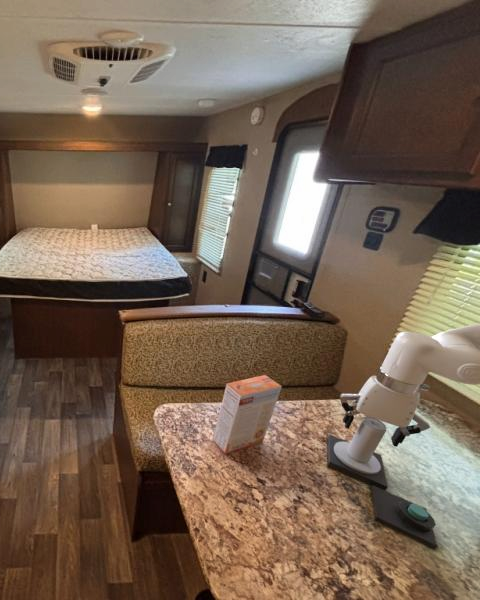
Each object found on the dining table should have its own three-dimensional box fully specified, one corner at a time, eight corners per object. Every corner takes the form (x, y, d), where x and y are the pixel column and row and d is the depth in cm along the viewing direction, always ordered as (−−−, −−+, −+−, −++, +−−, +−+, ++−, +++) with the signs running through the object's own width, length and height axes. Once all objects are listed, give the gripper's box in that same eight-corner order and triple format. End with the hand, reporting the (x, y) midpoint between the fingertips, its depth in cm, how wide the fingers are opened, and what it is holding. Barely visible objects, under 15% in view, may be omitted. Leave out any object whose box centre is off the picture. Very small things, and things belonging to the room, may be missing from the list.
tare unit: (423, 512, 76) (429, 504, 74) (434, 549, 68) (441, 541, 67) (369, 488, 81) (374, 480, 80) (374, 520, 73) (379, 512, 72)
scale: (378, 459, 89) (382, 452, 88) (384, 492, 80) (389, 484, 79) (326, 439, 95) (329, 432, 94) (326, 466, 86) (330, 459, 85)
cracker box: (247, 428, 98) (265, 373, 90) (263, 443, 93) (284, 386, 84) (210, 438, 94) (226, 381, 85) (224, 455, 88) (242, 396, 80)
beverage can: (347, 446, 90) (364, 413, 85) (369, 456, 86) (388, 423, 82) (344, 455, 86) (362, 422, 82) (367, 467, 83) (386, 433, 78)
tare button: (423, 513, 73) (426, 508, 72) (426, 524, 70) (430, 519, 70) (406, 505, 74) (409, 501, 74) (408, 515, 72) (411, 511, 71)
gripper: (443, 387, 75) (410, 440, 81) (351, 361, 84) (329, 411, 91) (453, 405, 69) (417, 460, 76) (353, 375, 78) (329, 427, 85)
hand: (369, 433), depth 83 cm, fingers open, 9 cm apart
